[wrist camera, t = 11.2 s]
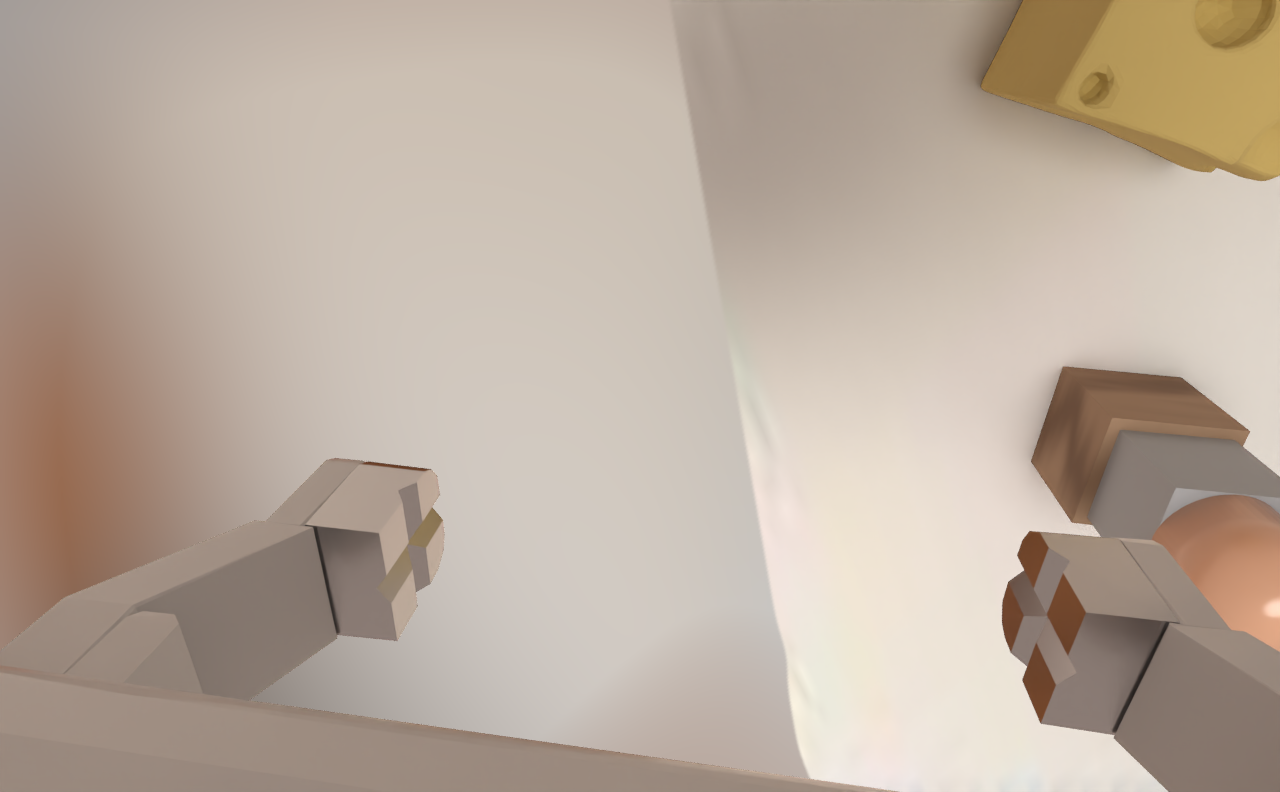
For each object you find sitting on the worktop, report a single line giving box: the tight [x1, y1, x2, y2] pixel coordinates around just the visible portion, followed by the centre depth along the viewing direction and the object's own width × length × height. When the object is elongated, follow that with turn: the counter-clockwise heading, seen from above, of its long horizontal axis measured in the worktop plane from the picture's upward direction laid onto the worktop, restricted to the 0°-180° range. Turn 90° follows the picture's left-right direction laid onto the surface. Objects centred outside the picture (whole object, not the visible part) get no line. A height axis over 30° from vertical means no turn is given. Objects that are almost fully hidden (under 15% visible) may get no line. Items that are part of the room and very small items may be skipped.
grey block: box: [1087, 430, 1280, 540], centre depth 33 cm, size 5×5×5 cm
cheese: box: [981, 0, 1280, 181], centre depth 27 cm, size 10×11×10 cm
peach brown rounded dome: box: [1152, 494, 1280, 652], centre depth 28 cm, size 5×5×5 cm
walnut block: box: [1031, 367, 1250, 525], centre depth 38 cm, size 6×6×6 cm
